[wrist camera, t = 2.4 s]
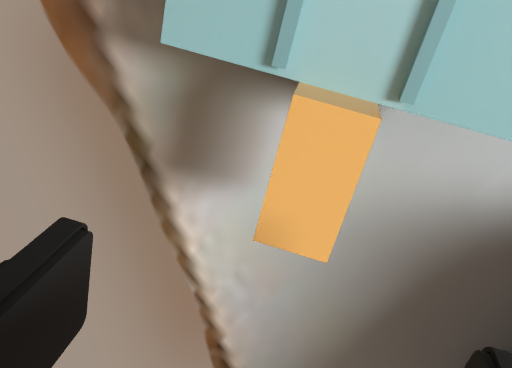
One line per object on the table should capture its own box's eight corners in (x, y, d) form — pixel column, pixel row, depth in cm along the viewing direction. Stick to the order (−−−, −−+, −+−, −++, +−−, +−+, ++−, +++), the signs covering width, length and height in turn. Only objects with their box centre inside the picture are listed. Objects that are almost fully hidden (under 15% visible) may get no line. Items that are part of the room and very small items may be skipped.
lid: (696, -193, 12) (794, -242, 9) (450, 261, 19) (466, 306, 17) (215, -300, 13) (181, -372, 10) (151, 171, 20) (122, 199, 18)
